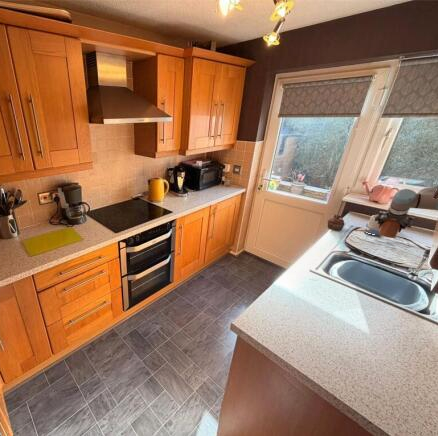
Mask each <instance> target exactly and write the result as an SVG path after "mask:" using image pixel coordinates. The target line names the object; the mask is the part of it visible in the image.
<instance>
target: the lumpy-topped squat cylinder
mask: <svg viewBox="0 0 438 436" xmlns="http://www.w3.org/2000/svg"><path fill="white" fill-rule="evenodd" d="M377 215H378V214H373V215H370V219H369V221H368V224H367V228H368V229H372V230H376V231H379V230H380V228H379V225H380V224H378V221H374V220H375V218H376V216H377ZM383 216H384V215H382V216H381V217H383Z"/></svg>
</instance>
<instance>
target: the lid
mask: <svg viewBox="0 0 438 436" xmlns="http://www.w3.org/2000/svg"><path fill="white" fill-rule="evenodd" d="M367 229H369V230H367ZM365 231H366V232H368V233H371V234H368V233H366V232H365ZM378 232H379V231H376V230H373V229H370V228H365V229H364V231H363V233H364V234H365V235H367V236H370V237H376V238H378V237H381V235H379V234H378ZM372 234H375V235H372Z"/></svg>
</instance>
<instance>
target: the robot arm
mask: <svg viewBox="0 0 438 436" xmlns="http://www.w3.org/2000/svg"><path fill="white" fill-rule="evenodd" d="M437 186H438V185H435V186H434V185H433V186H432V187H425V188H422V189H419V190H418V192H416V191H414V190H413V189H410V188H402V189H399V190H397V191H396V192H395V193H394V195H393V196H392V199H391V202H390V204H389V207H388V209H387V210H386V211H384V210H383V209H380V210H379V212H378V214H376V215H377V216H376V218H375V220H374V221H378V224H380V225H379V228H380V227H381V225H382V222H383V221H385V220H387V219H397V220H398V221H400V223H401V227H400V230H399V232H398V233H401V231H402V230H405V229H406V228H409V229H411V228H412V226H413V220H414V218H415V216H414V215H408V213H409V211H410V210H411V209H421V210H431V211H432V210H433V211H438V199H433V198H432V197H433V195H434V193H435V191H436V189H437ZM381 216H383V217H381ZM406 219H407V221H406Z"/></svg>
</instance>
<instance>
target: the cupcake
mask: <svg viewBox="0 0 438 436" xmlns="http://www.w3.org/2000/svg"><path fill="white" fill-rule="evenodd" d="M345 225H346V224H345V220H344V218H343V217H342V215H338V214H332V215H331V217H330V218H329V219H328V220H327V229H328V230H330V231H333V232H334V231H335V232H341V231H342V230H343V229H344V226H345Z"/></svg>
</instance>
